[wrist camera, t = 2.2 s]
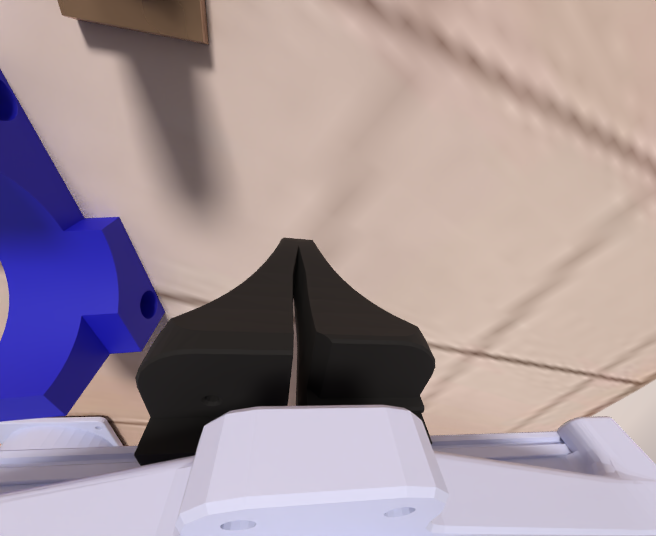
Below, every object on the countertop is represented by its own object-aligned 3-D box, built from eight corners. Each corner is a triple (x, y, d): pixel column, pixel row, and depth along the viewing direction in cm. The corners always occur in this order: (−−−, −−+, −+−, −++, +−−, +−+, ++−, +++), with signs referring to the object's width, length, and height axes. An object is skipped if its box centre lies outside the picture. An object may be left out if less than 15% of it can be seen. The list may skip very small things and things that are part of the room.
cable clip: (166, 309, 16) (105, 412, 11) (85, 314, 15) (-16, 423, 10) (41, 48, 9) (-283, -2, 4) (-109, 46, 8) (-675, -11, 4)
